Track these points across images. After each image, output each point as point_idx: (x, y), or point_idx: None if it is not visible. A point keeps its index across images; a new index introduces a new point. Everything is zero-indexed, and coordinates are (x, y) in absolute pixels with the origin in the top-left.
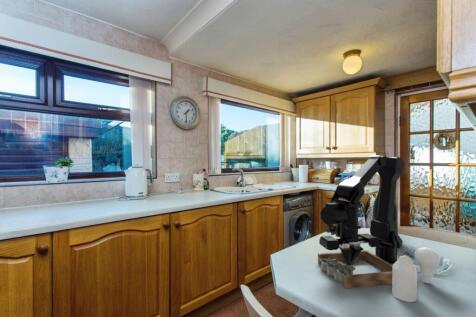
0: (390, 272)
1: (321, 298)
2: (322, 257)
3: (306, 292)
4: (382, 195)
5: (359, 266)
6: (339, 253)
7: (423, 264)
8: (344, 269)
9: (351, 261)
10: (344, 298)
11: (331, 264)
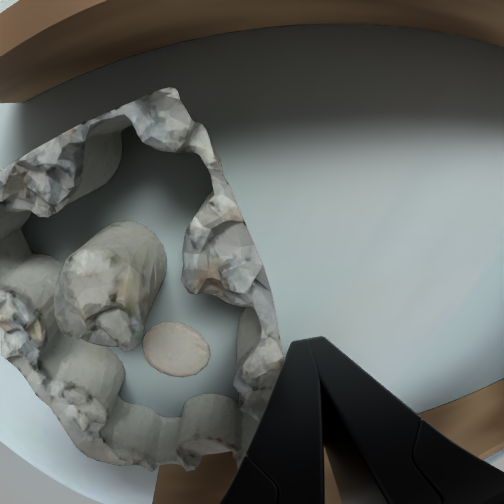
0: (499, 449)
1: (59, 469)
2: (4, 80)
3: (6, 433)
4: None
5: (487, 160)
6: None
7: None
8: (237, 347)
9: (329, 462)
10: (145, 489)
11: (70, 330)
